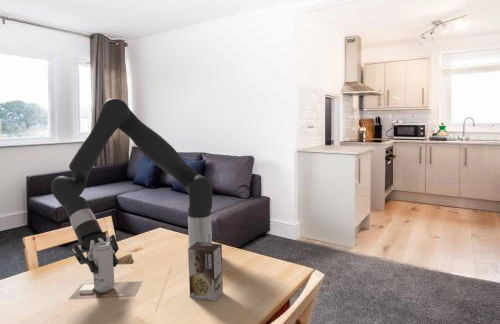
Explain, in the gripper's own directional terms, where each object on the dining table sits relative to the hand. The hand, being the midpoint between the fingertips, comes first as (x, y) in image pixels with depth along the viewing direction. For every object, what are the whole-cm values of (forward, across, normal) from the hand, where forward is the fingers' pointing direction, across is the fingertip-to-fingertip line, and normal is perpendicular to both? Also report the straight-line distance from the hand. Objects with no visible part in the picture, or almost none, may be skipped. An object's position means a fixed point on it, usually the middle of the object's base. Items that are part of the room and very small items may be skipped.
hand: (106, 268), depth 109 cm
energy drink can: (+4, 0, +6) cm, 8 cm away
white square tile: (+2, -4, +9) cm, 10 cm away
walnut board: (+5, +1, +7) cm, 9 cm away
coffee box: (+24, +19, -12) cm, 33 cm away
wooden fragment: (-6, +12, +19) cm, 23 cm away
